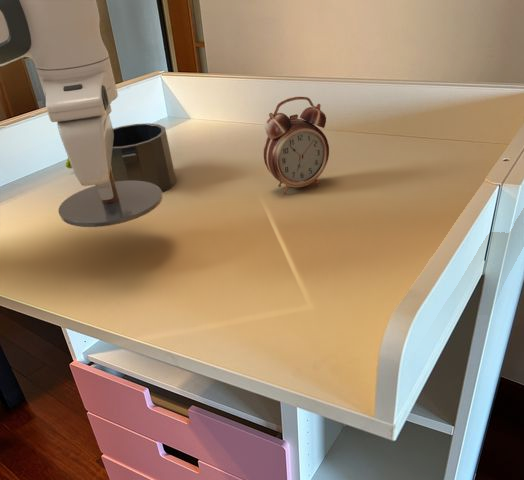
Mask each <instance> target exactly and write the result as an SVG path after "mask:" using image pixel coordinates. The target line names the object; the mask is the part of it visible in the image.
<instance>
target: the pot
mask: <svg viewBox="0 0 524 480" xmlns="http://www.w3.org/2000/svg"><path fill="white" fill-rule="evenodd" d="M113 133H114V140H113V149H112V158H111V167H112V173H113V177H114V181H115V182H116V181H130V180H132V181H145V182H149V183H152V184H155V185H157V186H158V187H159V188H160V189H161V191H162V193H164V192H166V191H168V190H170V189H171V188H172V187H174V186H175V184H176V181H177V178H176V173H175V168H174V163H173V158H172V153H171V149H170V143H169V140H168V134H167V129H166V127H165V126H163V125H161V124H158V123H149V122H148V123H133V124H127V125H120V126H118V127H113Z"/></svg>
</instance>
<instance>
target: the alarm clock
mask: <svg viewBox="0 0 524 480" xmlns="http://www.w3.org/2000/svg"><path fill="white" fill-rule="evenodd" d="M297 100H305V101H308V103H309V105H310V106H309V107H306V108H305V109H304V110H303V111H302V112H301V114H300V116H299V114H292V115H289V116H288V115H287V114H286V113H283V112H279V109H280V108H281V106H283V105H284V104H286V103H290V102H293V101H297ZM321 105H322V104H320V103H318V104H316V105H314V103H313V102H312V100H311V99H310V98H309V97H308V96H294V97H289V98H286V99H284V100H282V101H280V102H279V103H277V105H276V108H275V110H274V112H273V113H272V112H269V113H268V119H267V120H266V122H265V125H264V129H265V134H266V135H267V138H266V139H265V143H264V146H263V160H264V165H265V166H266V169H267V170H268V172H269V173H270V174H271V176H272V177H274V179H276V181H278V182H279V184H278V188H281V187H282V184H283V185H285V186H284V189H283V191H282V194H283V195H286V194H287V191H288V189H289V187H291V188H303V187H306V186H309V185H310V184H312V183H314V182H315V184H316V186H317V187H319V186H320V185H321V183H320V182H319V181H318V178H319V177H321V175H322V174H323V172H324V170H325V169H326V167H327V164H328V161H329V157H330V146H329V141H328V139H327V137H326V135H325V134H324V132H323V131H322V130H321V129H320V128H322V129H325V127H326V123H327V117H326V116H327V115H326V114H325V112H323V110H322V109H321Z"/></svg>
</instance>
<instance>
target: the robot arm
mask: <svg viewBox="0 0 524 480" xmlns="http://www.w3.org/2000/svg"><path fill="white" fill-rule="evenodd" d="M100 20H101V19H100V12H99V8H98V3H97V0H0V67H4V66H6V65H8V64H11V63H12V62H16V61H18V60H21V59H23V58H28V59H30V60H32V62H33V63H34V66H35V69H36V72H37V76H38V79H39V82H40V85H41V89H42V92H43V95H44V99H45V101H44V102H45V109H46V112H47V115H48V118H49V121H50V122H51V123H57V124H56V126H57V129H58V133H59V136H60V140H61V142H62V145H63V147H64V150H65V153H66V155H67V159H68V158H69V161H70V163H71V166H72V168H71V170H72V171H73V173H74V175H75V177H76V179H77V181H78V182H79V184H80V185H81V186H83V187H89V186H96V187H97V189H98V192H99V196H100V198H101V200H109V199H112V198H113V194H114V192H113V188H112V184H111V183H110V179H109V175H110V167H111V158H112V149H113V140H114V133H113V128H114V127H113V124H112V120H111V116H110V114H111V113H112V107H111V104H112V102H113V101H115V100H116V99H117V98H118V97H119V93H118V89H117V84H116V79H115V76H114V72H113V68H112V63H111V59H110V55H109V51H108V49H107V47H106V45H105V43H104V41H103V39H102V34H101V29H100V23H101V22H100ZM111 170H112V167H111Z"/></svg>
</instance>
